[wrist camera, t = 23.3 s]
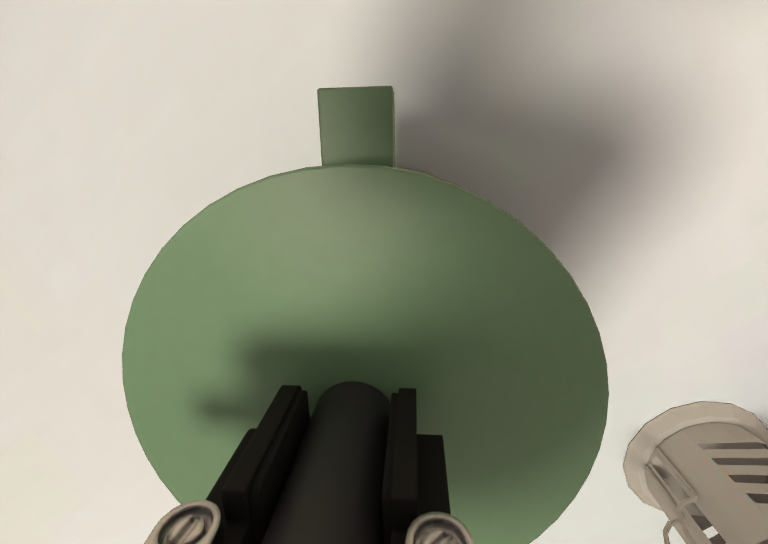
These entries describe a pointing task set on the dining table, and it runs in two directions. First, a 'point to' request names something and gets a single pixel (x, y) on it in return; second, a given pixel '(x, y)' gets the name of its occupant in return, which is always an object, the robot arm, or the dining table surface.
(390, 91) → the chamber
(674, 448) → the french press
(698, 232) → the dining table surface
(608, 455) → the dining table surface
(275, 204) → the lid
